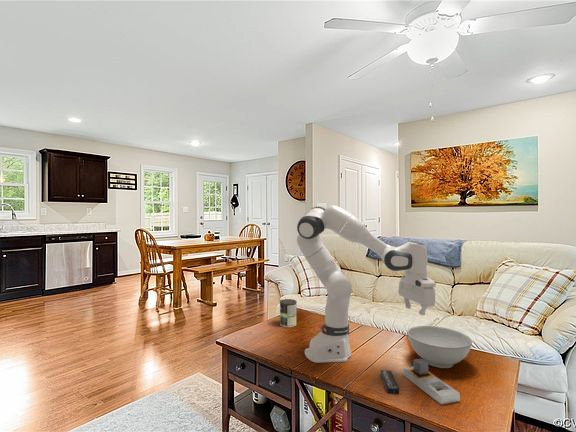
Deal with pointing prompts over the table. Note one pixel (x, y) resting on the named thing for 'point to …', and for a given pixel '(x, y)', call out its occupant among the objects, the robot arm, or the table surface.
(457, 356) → the decorative bowl
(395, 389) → the multiport hub
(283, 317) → the coffee can
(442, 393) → the rail
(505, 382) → the table surface
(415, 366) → the square peg
